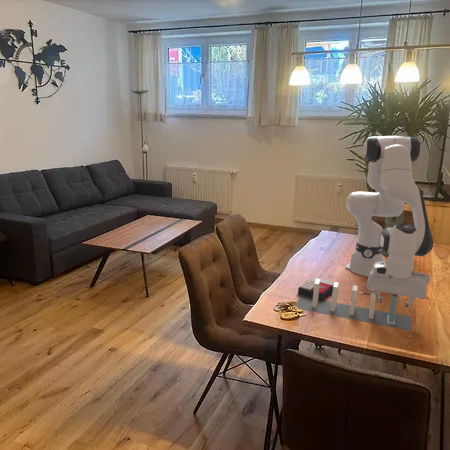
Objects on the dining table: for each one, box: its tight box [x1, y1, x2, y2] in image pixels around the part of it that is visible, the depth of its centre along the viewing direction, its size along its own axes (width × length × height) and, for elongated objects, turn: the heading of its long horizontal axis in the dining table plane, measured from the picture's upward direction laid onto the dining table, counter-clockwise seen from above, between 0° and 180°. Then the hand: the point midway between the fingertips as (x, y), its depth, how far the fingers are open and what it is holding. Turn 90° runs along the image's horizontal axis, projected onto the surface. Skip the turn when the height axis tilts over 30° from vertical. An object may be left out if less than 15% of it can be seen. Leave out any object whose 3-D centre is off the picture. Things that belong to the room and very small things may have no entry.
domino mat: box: [294, 295, 413, 332], centre depth 160 cm, size 12×42×1 cm, turn 70°
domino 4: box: [368, 290, 377, 319], centre depth 157 cm, size 2×5×10 cm, turn 160°
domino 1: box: [312, 278, 321, 308], centre depth 163 cm, size 2×5×10 cm, turn 160°
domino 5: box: [389, 294, 398, 323], centre depth 154 cm, size 2×5×10 cm, turn 160°
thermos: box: [381, 202, 406, 257], centre depth 228 cm, size 9×12×35 cm
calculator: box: [297, 276, 335, 301], centre depth 177 cm, size 11×4×15 cm
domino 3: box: [349, 284, 359, 315], centre depth 159 cm, size 2×5×10 cm, turn 160°
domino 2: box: [330, 281, 340, 312], centre depth 161 cm, size 2×5×10 cm, turn 160°
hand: (393, 304), depth 154 cm, fingers open, 8 cm apart
